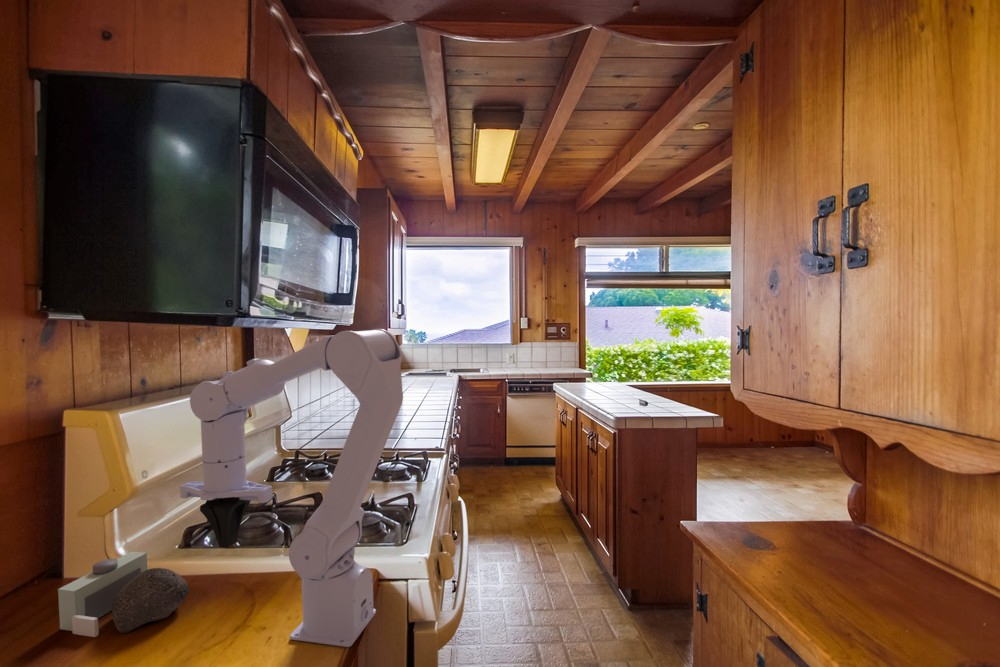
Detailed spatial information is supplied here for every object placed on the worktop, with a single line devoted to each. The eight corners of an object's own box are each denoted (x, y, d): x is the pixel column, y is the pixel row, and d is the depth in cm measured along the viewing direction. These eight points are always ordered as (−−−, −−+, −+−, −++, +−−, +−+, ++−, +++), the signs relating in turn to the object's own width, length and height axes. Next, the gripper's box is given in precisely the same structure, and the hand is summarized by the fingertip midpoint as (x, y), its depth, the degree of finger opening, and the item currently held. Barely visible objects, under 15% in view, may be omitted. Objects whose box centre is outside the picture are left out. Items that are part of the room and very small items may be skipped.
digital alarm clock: (170, 588, 79) (168, 547, 79) (94, 637, 67) (92, 589, 67) (136, 584, 80) (134, 544, 80) (56, 631, 68) (53, 584, 68)
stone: (105, 647, 70) (94, 629, 64) (124, 586, 76) (115, 563, 70) (183, 637, 74) (180, 619, 68) (195, 580, 80) (193, 558, 74)
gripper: (160, 463, 69) (165, 554, 70) (247, 467, 67) (251, 561, 67) (199, 450, 76) (203, 532, 77) (279, 453, 73) (282, 538, 74)
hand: (228, 544), depth 72 cm, fingers closed
